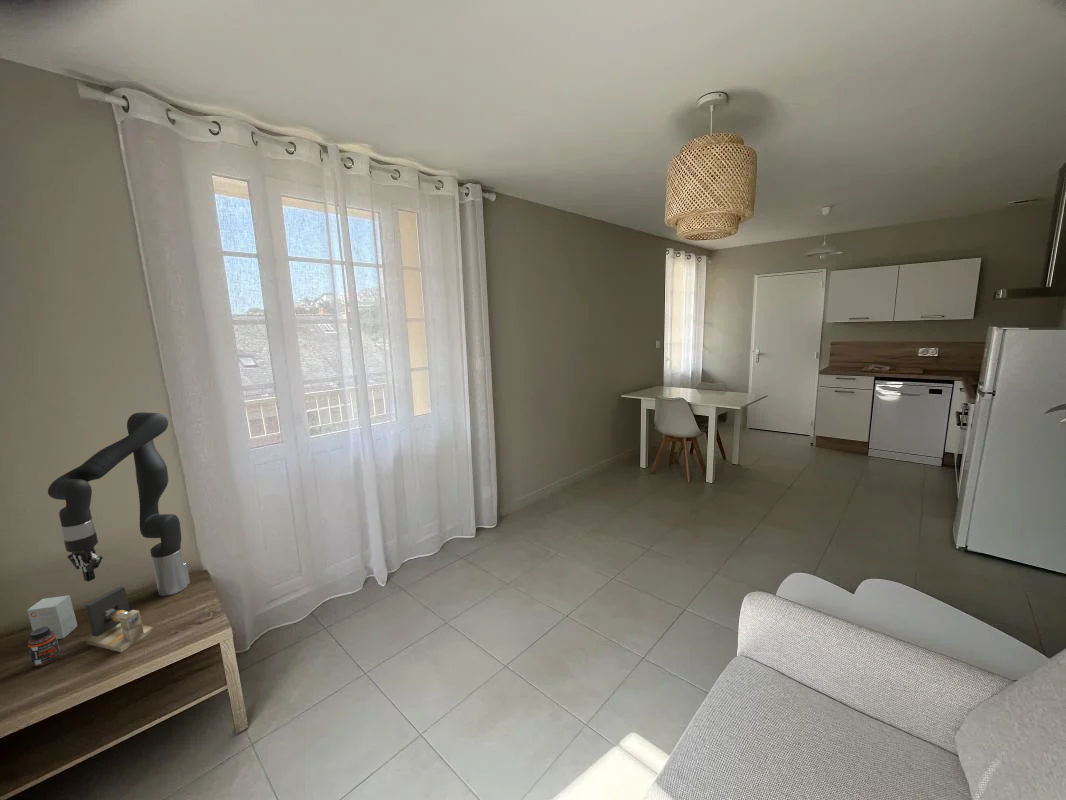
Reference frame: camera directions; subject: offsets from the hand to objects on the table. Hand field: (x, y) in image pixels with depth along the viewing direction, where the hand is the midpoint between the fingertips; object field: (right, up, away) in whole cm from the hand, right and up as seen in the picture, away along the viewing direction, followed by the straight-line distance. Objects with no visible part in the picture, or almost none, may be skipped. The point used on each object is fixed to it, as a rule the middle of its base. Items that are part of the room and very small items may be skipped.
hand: (90, 579), depth 144 cm
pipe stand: (+9, -21, +2) cm, 23 cm away
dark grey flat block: (+6, -17, +2) cm, 18 cm away
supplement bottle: (-6, -24, -8) cm, 25 cm away
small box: (-16, -21, +4) cm, 27 cm away
